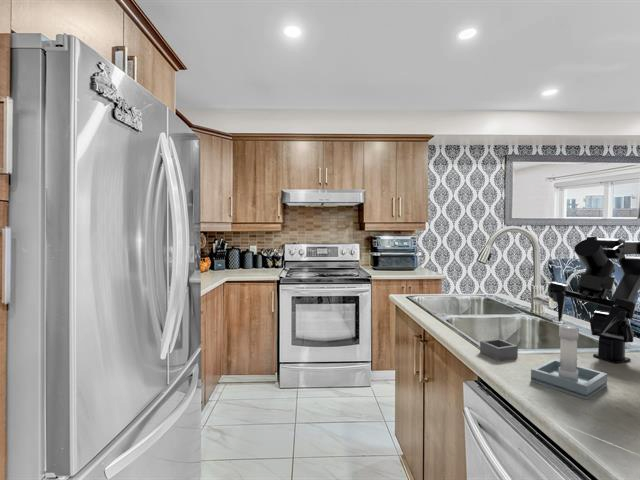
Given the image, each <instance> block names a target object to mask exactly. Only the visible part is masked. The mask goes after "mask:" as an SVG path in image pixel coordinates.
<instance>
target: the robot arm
mask: <svg viewBox="0 0 640 480" xmlns="http://www.w3.org/2000/svg"><path fill="white" fill-rule="evenodd" d="M574 252H575V254H576V256H577V257H578V259H579V260H580V262H581V264H582V265H583V266H584V267H586V269H585V272H584V273H580V276H579V280H578V282H577V287H576V290H577V291H574V290H570V289H568V285H567V284H564V283H559V282H556V281H551V282H550V283H548V284H549V285H548V287H547V292H548V297H549V298H550V299H552V301H553V302H555V303H557V313H558V314H557V318H558V319H557V320H558V322H561V321H562V319H563V315H564V310H565V307H566V300H567V298H571V299H574V300H579V301H582V302H585V303H589V304H594V305H597V308H595V311H593V314H592V315H591V316H590V319H589V323H590V326H589V327H590V330H591V331H590V333H591V336H595V337H598V343H597V344H598V346H597V347H598V349H597V353H593V354H592V356H593V357H596V358H599V359H602V360H606V361H608V362H610V363H611V362H612V363H614V364H620V363H624V362H630V361H631V360H632V359H631V358H630V357H628V356H627V357H626V344H627V343H634V338H635V333H634V332H635V331H634V330H633V327H632V326H631V324H630V320H633V318H634V315H635V312H636V311H635V310H636V305H637V304H636V302H635V301H634V299H635V298H636V296H637V294H638V291H639V289H640V256H628V255H640V240H623V239H621V238H599V237H597V236H594V235H593V236H591V235H590V236H587V237H586V239H584V240H581V241H578V243H577V244H575V246H574ZM626 255H627V256H626ZM612 260H618V262H619V266H620V267H621V270H622V277H621V279H620V281H619V283H618V284H617V286H616V289H615V291H614V292H613V294H612V295H611V298H610V299H606V298H605V296H606V294H607V290H608V291H612V290H613V286H614V282H615V279H616V278H615V277H613V276H612V275H613V274H614V273H616V270H615V264H614V262H613V261H612Z"/></svg>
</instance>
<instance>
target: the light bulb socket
mask: <svg viewBox="0 0 640 480" xmlns="http://www.w3.org/2000/svg"><path fill="white" fill-rule="evenodd" d="M518 347H519V346H518V345H517V344H513V343H511V342H509V341H506V340H503V339H500V338H493V339H486V340H481V341H480V343H479V353H480V354H483V355H485V356H487V357H489V358H490V359H491V358H492V359H494V360H496V361H504V360H505V361H506V360H510V359H511V360H512V359H517V358H518V357H519V355H518V353H519V350H518Z"/></svg>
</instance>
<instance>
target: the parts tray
mask: <svg viewBox="0 0 640 480" xmlns="http://www.w3.org/2000/svg"><path fill="white" fill-rule="evenodd" d="M559 367H560V359H559V360H558V359H555V358H552V359H550V360H547V361H545V362H543V363H541V364H539V365H537V366H535V367H533V368H531V369H530V381H531V382H533V383H536V384H540V385H542V386H545V387H548V388H552V389H554V390H556V391H560V392H563V393H567V394H570V395H572V396H575V397H578V398H581V399H584V400H589V399H590V398H591V397H593V396H594V395H596V394H597V393H599V392H600V391H602V390H603V389H604V388H605V387H607V386H608V373H606V372H603V371H598V370H596V369H592V368H588V367H585V366H581V365H577V370H578V382H576V381H573V380H570V379H566V378H563V377H560V376H559Z"/></svg>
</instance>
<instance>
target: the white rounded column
mask: <svg viewBox="0 0 640 480" xmlns="http://www.w3.org/2000/svg"><path fill="white" fill-rule="evenodd" d="M579 336H580V328H579V327H578V326H574V325H567V324H566V325H565V324H562V325H559V328H558V337H559V338H560V345H559V346H560V348H559V349H560V350H559V351H560V354H559V355H560V356H559V357H560V358H559V361H560V367H559V376H560V377H563V378H566V379H570V380H573V381H576V382H578V370H577V366H578V340H579V339H580V337H579Z"/></svg>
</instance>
